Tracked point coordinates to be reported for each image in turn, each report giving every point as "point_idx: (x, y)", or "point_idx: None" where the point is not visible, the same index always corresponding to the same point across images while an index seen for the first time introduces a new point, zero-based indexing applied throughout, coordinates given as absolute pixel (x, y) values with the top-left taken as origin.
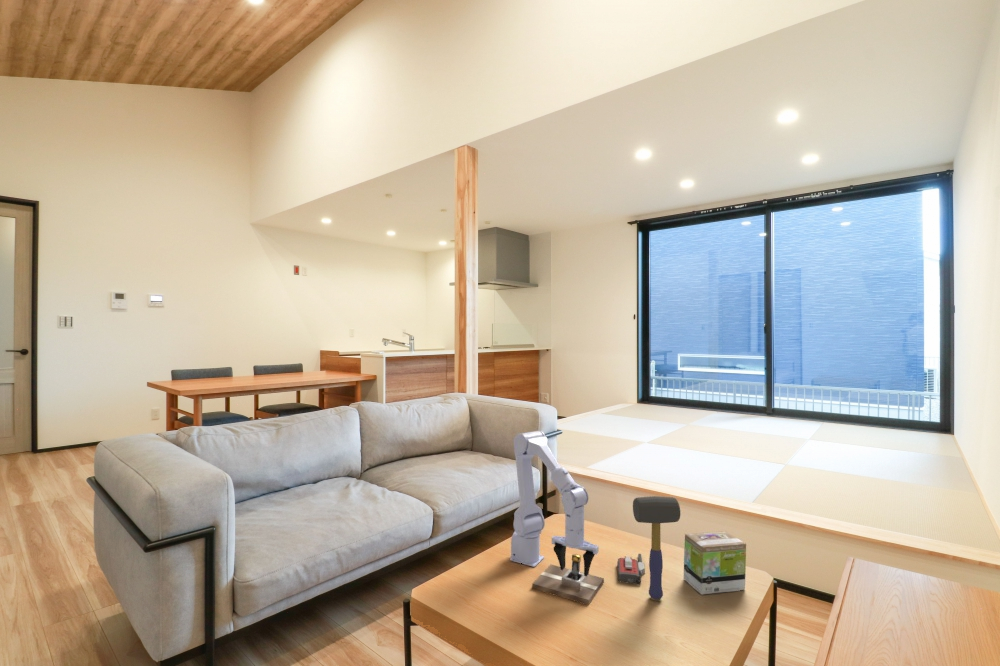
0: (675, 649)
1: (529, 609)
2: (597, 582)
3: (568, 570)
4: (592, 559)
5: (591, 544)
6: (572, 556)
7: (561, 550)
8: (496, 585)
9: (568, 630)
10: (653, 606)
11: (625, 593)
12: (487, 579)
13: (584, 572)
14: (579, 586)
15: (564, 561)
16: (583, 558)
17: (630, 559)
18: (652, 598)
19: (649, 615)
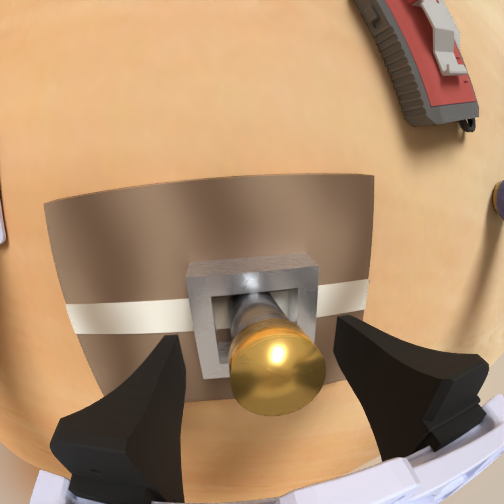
0: (491, 356)
1: (188, 455)
2: (358, 237)
3: (189, 291)
4: (422, 349)
5: (491, 449)
6: (249, 406)
7: (177, 493)
8: (37, 404)
9: (317, 454)
10: (494, 242)
11: (442, 213)
12: (3, 385)
13: (344, 371)
14: None
15: (172, 369)
16: (382, 459)
17: (441, 10)
18: (497, 211)
19: (484, 291)
